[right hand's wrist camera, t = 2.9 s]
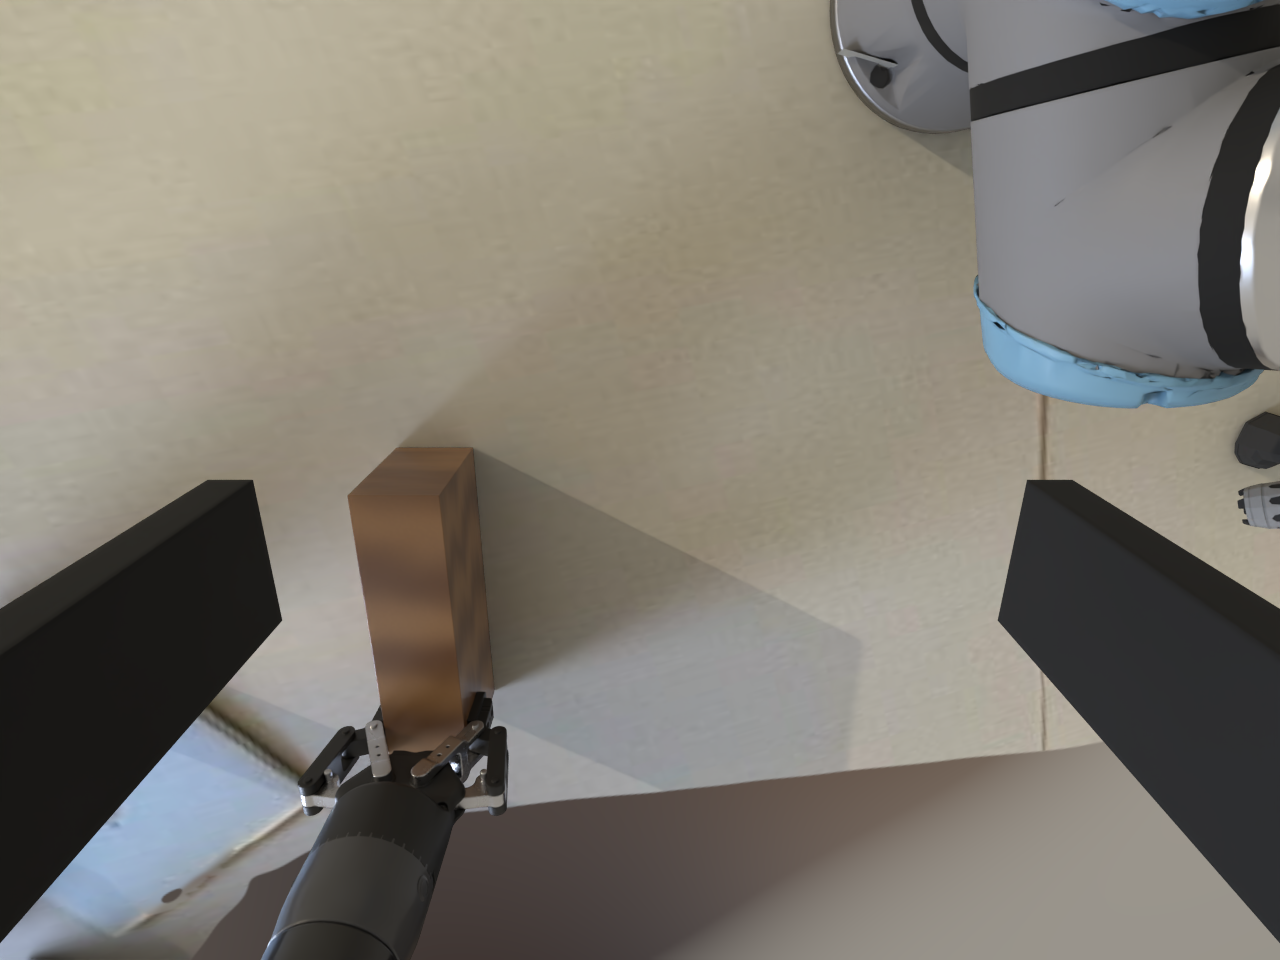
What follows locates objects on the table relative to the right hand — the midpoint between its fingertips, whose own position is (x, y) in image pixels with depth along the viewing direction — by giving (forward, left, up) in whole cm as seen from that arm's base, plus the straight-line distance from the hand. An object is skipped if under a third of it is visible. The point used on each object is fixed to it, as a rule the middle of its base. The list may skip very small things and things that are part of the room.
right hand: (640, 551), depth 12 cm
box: (+16, +23, -41) cm, 49 cm away
